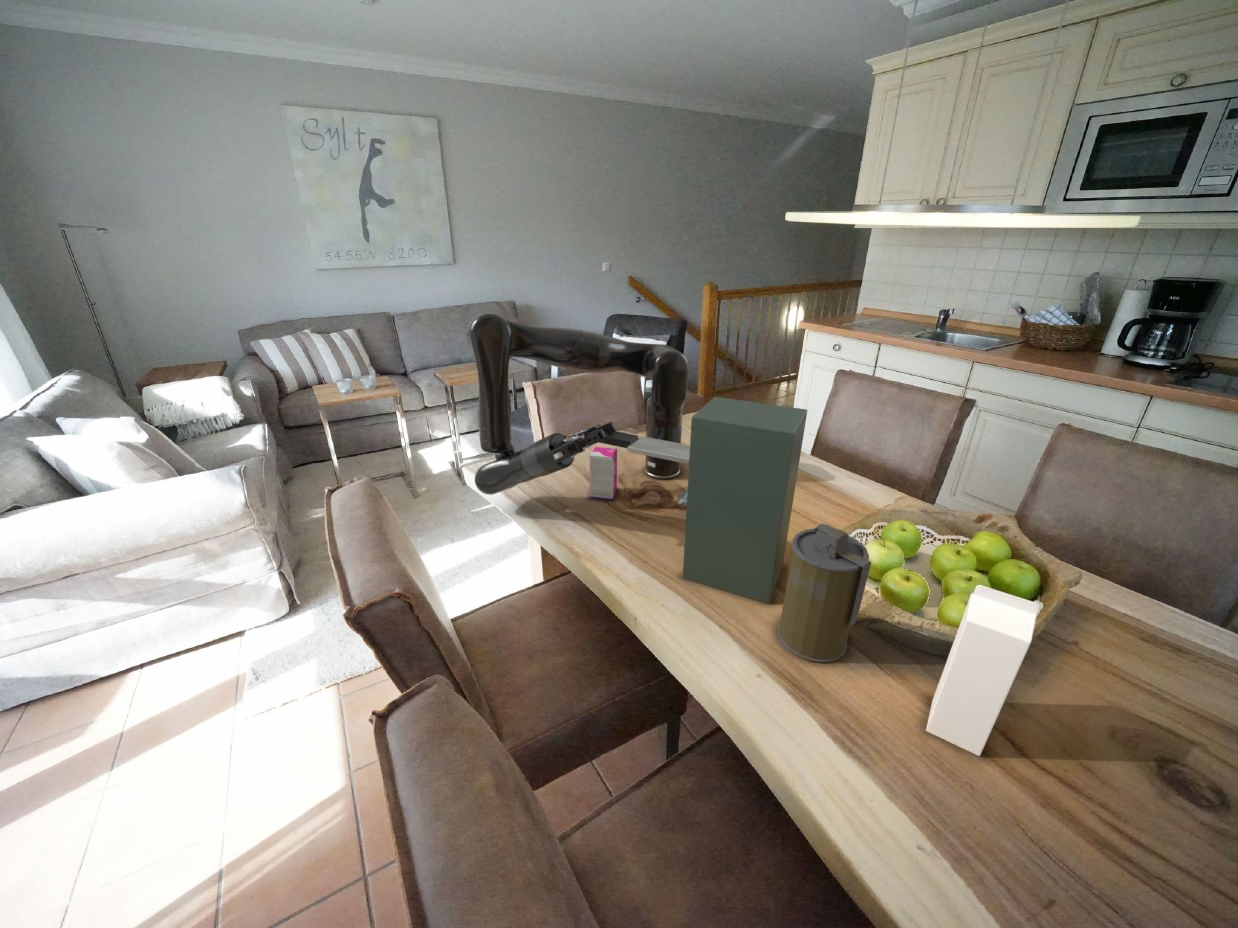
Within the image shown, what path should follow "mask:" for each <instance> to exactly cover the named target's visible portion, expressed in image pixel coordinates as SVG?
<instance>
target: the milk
mask: <svg viewBox="0 0 1238 928" xmlns="http://www.w3.org/2000/svg"><path fill="white" fill-rule="evenodd" d="M1040 608H1041V604H1040V603H1038V602H1035V601H1032V600H1029V599H1026V598H1022V597H1019V596H1016V595H1014V594H1010V593H1007V592H1004V591H1002V590H1001V591H1000V590H998V589H994V588H991V587H988V586H985V585H982V584H978V585H976V587H975V589H974V590H973V592H971V593H970V596H969V599H968V601H967V604H966V606H965V610H964V612H963V615H962V618H961V621H960V623H959V627H958V629H957V632H956V635H955V637H954V640H953V643H952V645H951V648H950V651H949V654H948V656H947V659H946V662H945V665H944V668H943V669H942V673H941V675H940V678H939V681H938V683H937V684H938V685H937V687H936V690H935V692H934V695H933V698H932V700H931V701H932V702H931V706H930V709H929V710H930V711H929V715H928V720H927V724H926V729H925V731H926V732H927V733H929V734H931V735H933V736H935V737H937V738H939V739H942V740H943V741H946V742H948V743H950V744H952V745H955V746H957V747H958V748H961V749H963V750H965V751H967V752H970V753H972V754H973V755H975V756H978V757H980V756H981V755H982V752H983V751H984V748H985V746H986V744H987V742H988V739H989V737H990V735H991V733H992V731H993V728H994V727H995V724H996V721H997V719H998V717H999V715H1000V712H1001V710H1002V708H1003V706H1004V704H1005V702H1006V700H1007V697H1008V695H1009V693H1010V690H1011V688H1012V685H1013V683H1014V682H1015V680H1016V677H1017V675H1018V672H1019V670H1020V669H1021V666H1022V664H1023V662H1024V659H1025V657H1026V655H1027V653H1028V650H1029V648H1030V646H1031V643H1032V640H1033V635H1034V630H1035V625H1036V621H1037V617H1038V614H1039V611H1040Z"/></svg>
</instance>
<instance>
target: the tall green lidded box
mask: <svg viewBox="0 0 1238 928" xmlns="http://www.w3.org/2000/svg"><path fill="white" fill-rule="evenodd" d="M807 415H808V409H806V408H799V407H792V406H784V405H778V404H770V403H763V402H756V401H748V400H743V399H742V400H741V399H735V398H728V397H721V396H714V397H713V398H711V399H710V400H709V401H708V402H707V403H706V404H704V406H702V407H701V408H700V409H699V410H698V411H697V412H696V413H695V414H694V415H692V417H691V423H690V438H689V439H690V442H689V445H690V456H689V464H688V475H687V476H688V477H687V490H688V492H687V506H686V512H685V513H686V514H685V527H684V530H685V532H684V545H683V547H684V548H683V563H682V565H683V566H682V579H685V580H688V581H691V582H694V583H698V584H701V585H704V586H708V587H711V588H714V589H717V590H721V591H725V592H727V593H730V594H731V593H732V594H734V595H737V596H741V597H744V598H748V599H750V600H754V601H757V602H761V603H764V604H768V605H769V604H770V603H771V600H772V597H773V594H774V591H775V589H776V586H777V583H778V581H779V577H780V575H781V572H782V569H783V566H784V561H785V554H786V549H787V541H788V535H789V529H790V522H791V517H792V512H793V511H792V510H793V504H794V498H795V491H796V485H797V479H798V473H799V467H800V461H801V460H800V459H801V454H802V449H803V448H802V447H803V442H804V441H803V440H804V435H805V430H806V429H805V428H806V422H807V417H808V416H807Z"/></svg>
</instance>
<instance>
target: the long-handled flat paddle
mask: <svg viewBox="0 0 1238 928" xmlns="http://www.w3.org/2000/svg"><path fill="white" fill-rule="evenodd" d="M589 428H590V429H589ZM589 428H588V429H589V430H587V431H586V432H584V435H587V434H589V433H591V432H594V431H596V430H598V429H602V428H597V427H594V426H592V427H589ZM602 430H603V431H604V433H605V435H606V439H605V440H603V441H601V442H598V443H599V444H604V445H608V446H613V447H619V448H623V449H627V452H628V453H634V454H638V455H643V456H646V455H647V456H652V457H656V458H661V459H666V460H671V461H675V462H680V464H684V465H685V464H686V465H689V456H690V444H686V443H685V444H684V443H681V444H680V443H675V442H670V441H665V440H660V439H654V438H649V437H646V436H643V435H641V436H639V434H632V433H627V432H622V431H617V430H616V431H612V430H607V429H602Z"/></svg>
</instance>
